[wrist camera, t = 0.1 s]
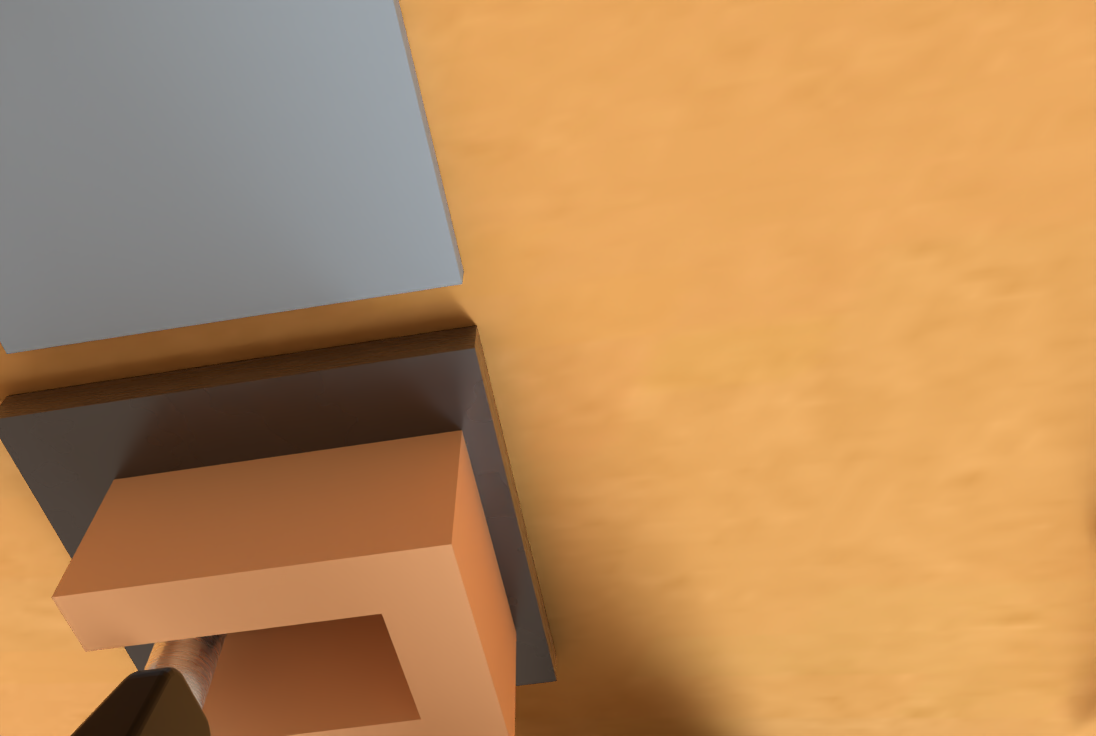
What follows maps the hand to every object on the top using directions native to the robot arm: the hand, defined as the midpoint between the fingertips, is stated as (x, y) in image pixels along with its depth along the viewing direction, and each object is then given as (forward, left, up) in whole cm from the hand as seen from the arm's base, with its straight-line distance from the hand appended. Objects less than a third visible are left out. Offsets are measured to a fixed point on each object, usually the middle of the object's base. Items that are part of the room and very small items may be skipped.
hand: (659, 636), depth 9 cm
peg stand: (-11, +9, -14) cm, 21 cm away
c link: (-11, +9, -14) cm, 19 cm away
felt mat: (+1, +9, -14) cm, 17 cm away
